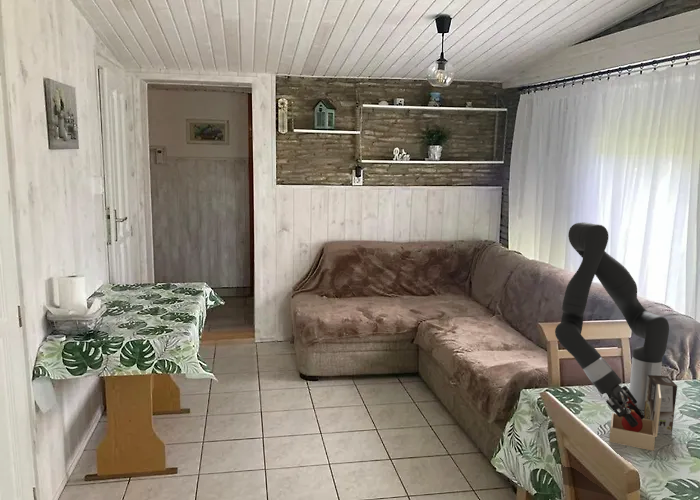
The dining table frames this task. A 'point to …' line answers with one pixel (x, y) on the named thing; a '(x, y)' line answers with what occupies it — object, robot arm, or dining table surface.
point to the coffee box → (667, 402)
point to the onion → (627, 425)
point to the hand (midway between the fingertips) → (638, 422)
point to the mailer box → (637, 439)
